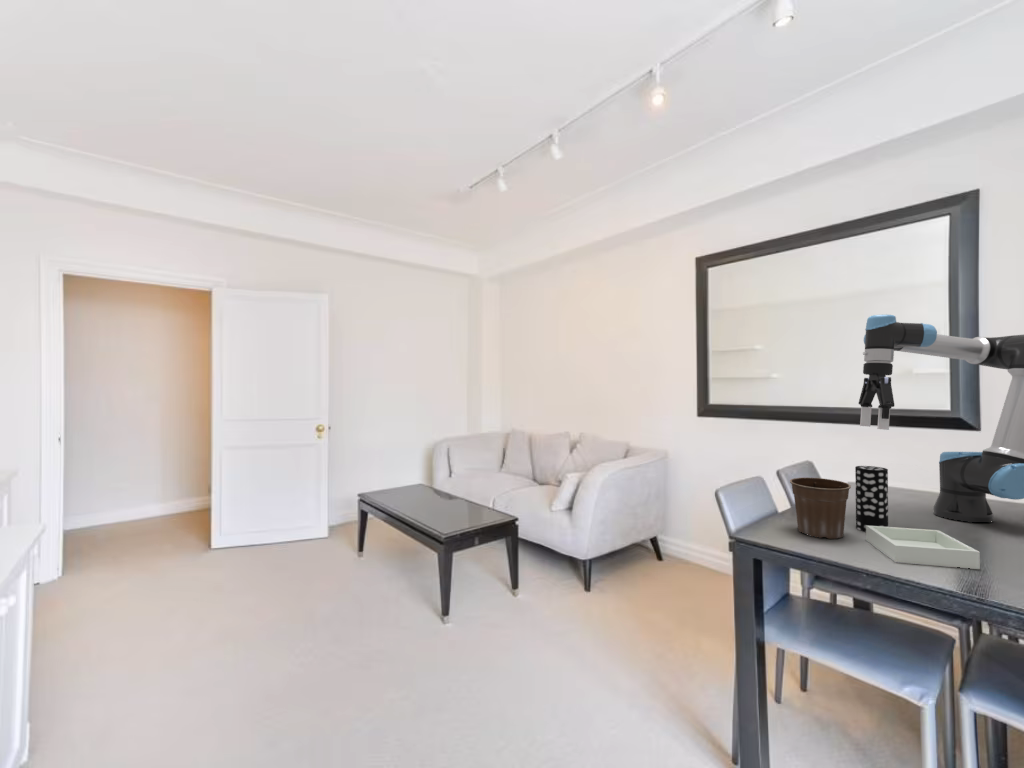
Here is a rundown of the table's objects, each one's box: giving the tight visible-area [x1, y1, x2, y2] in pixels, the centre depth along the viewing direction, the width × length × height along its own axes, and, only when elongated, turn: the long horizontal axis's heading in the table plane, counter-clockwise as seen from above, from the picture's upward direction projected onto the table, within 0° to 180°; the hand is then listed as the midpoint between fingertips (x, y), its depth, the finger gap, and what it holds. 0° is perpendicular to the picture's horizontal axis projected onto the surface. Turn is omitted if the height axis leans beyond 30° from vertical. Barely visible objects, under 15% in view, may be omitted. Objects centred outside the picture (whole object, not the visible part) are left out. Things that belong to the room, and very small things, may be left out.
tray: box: [865, 525, 981, 570], centre depth 131 cm, size 18×18×4 cm
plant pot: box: [789, 477, 852, 540], centre depth 149 cm, size 16×16×16 cm
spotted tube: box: [854, 465, 889, 533], centre depth 152 cm, size 8×8×20 cm
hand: (873, 427), depth 153 cm, fingers open, 13 cm apart
